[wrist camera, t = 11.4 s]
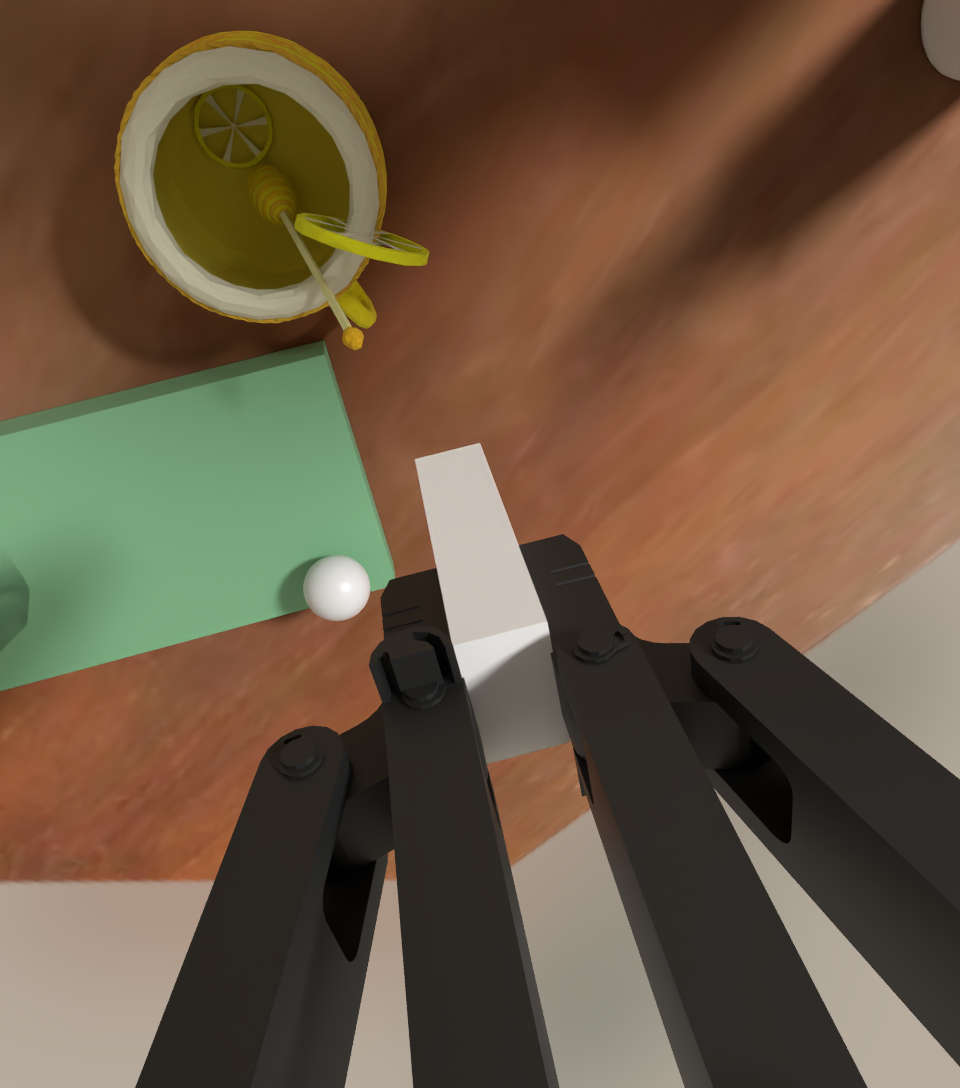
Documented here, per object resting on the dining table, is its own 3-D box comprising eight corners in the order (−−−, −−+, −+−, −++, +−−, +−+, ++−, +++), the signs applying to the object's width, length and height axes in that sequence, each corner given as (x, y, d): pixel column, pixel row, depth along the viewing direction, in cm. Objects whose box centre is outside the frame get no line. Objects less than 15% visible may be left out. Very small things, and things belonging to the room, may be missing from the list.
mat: (-229, 478, 38) (-289, 522, 35) (324, 339, 40) (325, 367, 36) (-69, 685, 46) (-103, 739, 42) (392, 562, 47) (399, 604, 44)
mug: (80, 147, 34) (-20, 176, 24) (271, -28, 32) (249, -79, 22) (285, 370, 40) (275, 468, 30) (453, 235, 39) (502, 291, 28)
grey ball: (294, 552, 43) (293, 588, 40) (358, 535, 43) (361, 570, 40) (314, 603, 45) (314, 641, 42) (375, 587, 45) (380, 624, 42)
